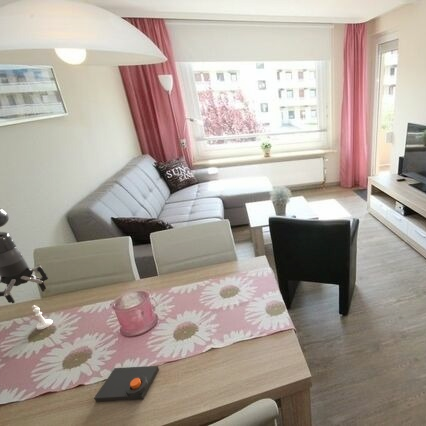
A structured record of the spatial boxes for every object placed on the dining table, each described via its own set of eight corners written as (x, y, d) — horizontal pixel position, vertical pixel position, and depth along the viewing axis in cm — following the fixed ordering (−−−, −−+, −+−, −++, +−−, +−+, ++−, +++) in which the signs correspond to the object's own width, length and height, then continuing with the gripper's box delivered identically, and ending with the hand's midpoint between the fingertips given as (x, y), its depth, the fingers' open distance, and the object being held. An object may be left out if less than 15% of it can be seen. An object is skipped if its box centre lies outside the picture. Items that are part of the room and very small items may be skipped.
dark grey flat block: (143, 400, 87) (140, 392, 85) (95, 403, 87) (91, 395, 85) (159, 369, 96) (157, 362, 95) (116, 371, 96) (112, 364, 95)
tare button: (138, 389, 87) (136, 385, 86) (129, 389, 87) (128, 386, 86) (143, 381, 89) (141, 377, 89) (134, 381, 89) (132, 378, 89)
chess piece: (42, 320, 119) (31, 301, 115) (55, 319, 119) (45, 300, 115) (33, 330, 114) (21, 310, 110) (46, 328, 115) (35, 309, 111)
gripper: (33, 248, 111) (51, 283, 118) (-21, 265, 102) (2, 301, 109) (36, 255, 106) (54, 291, 113) (-21, 273, 97) (3, 311, 104)
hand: (28, 296), depth 111 cm, fingers open, 8 cm apart
